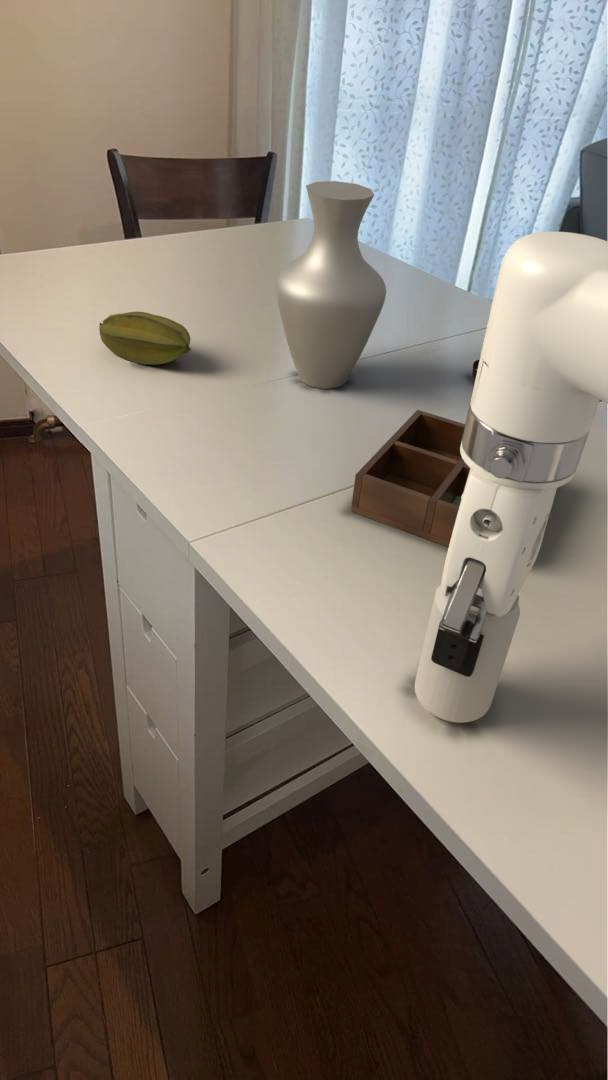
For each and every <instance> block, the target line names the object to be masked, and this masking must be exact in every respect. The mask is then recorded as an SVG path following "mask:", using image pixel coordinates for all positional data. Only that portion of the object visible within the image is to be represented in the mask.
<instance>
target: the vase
mask: <svg viewBox="0 0 608 1080" xmlns="http://www.w3.org/2000/svg"><path fill="white" fill-rule="evenodd" d="M305 188H306V192H307V196H308V200H309V204H310V208H311V209H310V210H311V213H312V214H311V215H312V219H313V235H312V238H311V241H310V243H309V244H308V246H307V248H306V250H305V252H303V253H302V254H301V255H300V256H298V257H296V258H295V259H294V260H291V261H290V262H288V264H286V265H285V266H284V267H283V268H282V269H280V271H279V272H278V273H277V276H276V279H275V290H274V291H275V296H276V297H275V298H276V303H277V307H278V311H279V316H280V319H281V324H282V327H283V331H284V336H285V339H286V344H287V346H288V349H289V352H290V356H291V359H292V361H293V364H294V367H295V370H296V373H297V376H298V377H299V381H300V382H301V383H303V384H305V385H307V386H308V387H311V388H316V389H322V390H328V389H336V388H337V389H338V388H340V387H342V385H344V384H345V383H347V381H348V379H349V376H350V375H351V374H352V371H353V369H354V368H355V367H356V364H357V363H358V362H359V359H360V357H361V355H362V353H363V351H364V350H365V348H366V345H367V344H368V341H369V339H370V337H371V335H372V332H373V330H374V328H375V326H376V324H377V321H378V320H379V317H380V315H381V313H382V309H383V307H384V304H385V301H386V297H387V296H386V295H387V286H386V283H385V281H384V279H383V277H382V276H381V275H380V273H379V272H378V271H377V270H376V269H375V268H374V267H372V266H371V265H370V264H369V263H368V261H366V260H365V258H364V257H363V254H362V251H361V249H360V245H359V238H358V237H359V230H360V227H361V223H362V221H363V219H364V216H365V214H366V211H367V209H368V207H369V206H370V204H371V202H372V201H373V199H374V197H375V193H374V192H373V190H372V188H369V187H366V186H364V185H360V184H359V183H352V182H345V181H339V180H338V181H337V180H329V181H328V180H327V181H315V182H312V183H309V184H306V185H305Z"/></svg>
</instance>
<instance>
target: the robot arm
mask: <svg viewBox="0 0 608 1080" xmlns="http://www.w3.org/2000/svg"><path fill="white" fill-rule="evenodd" d="M498 271H499V272H498V275H497V279H496V283H495V284H496V285H495V287H494V293H493V296H492V297H493V298H492V301H491V306H490V311H489V317H488V320H487V325H486V329H485V334H484V339H483V343H482V347H481V351H480V357H479V359H480V360H479V359H478V360H479V365H478V369H476V370H477V375H476V379H474V385H473V389H472V394H471V399H470V403H469V405H468V410H467V414H466V418H465V423H464V424H465V427H464V432H463V436H462V441H461V446H460V454H461V457H462V459H463V460H464V462H465V463H466V464H467V465H468V466H469V467H470V472H469V475H468V479H467V482H466V485H465V489H464V492H463V494H462V496H461V503H460V506H459V510H458V514H457V517H456V521H455V525H454V529H453V532H452V536H451V540H450V544H449V547H447V548H448V549H447V553H446V556H445V560H444V566H443V570H442V576H441V581H440V584H441V589H442V591H443V593H444V595H445V596H448V595H449V594H450V596H449V599H448V602H447V605H446V608H445V611H444V614H443V617H442V620H441V621H440V624H439V628H438V632H437V636H436V640H435V644H434V648H433V653H432V657H431V660H432V661H433V662H434V663H435V664H438V665H440V666H443V667H445V668H447V669H450V670H452V671H454V672H457V673H459V674H461V675H464V676H466V677H470V676H471V675H472V673H473V671H474V669H475V665H476V662H477V659H478V655H479V652H480V648H481V645H482V642H483V638H484V635H482V634H480V633H481V630H482V628H483V625H484V622H485V619H486V616H487V614H488V613H491V614H494V615H496V616H498V617H500V616H503V615H505V614H507V613H508V612H509V611H510V609H511V607H512V606H513V604H514V602H515V600H516V598H517V596H518V595H519V594H520V592H521V590H522V588H523V587H524V584H525V583H526V580H527V578H528V576H529V575H530V573H531V570H532V569H533V567H534V564H535V562H536V561H537V558H538V556H539V553H540V550H541V546H542V544H543V539H544V536H545V531H546V529H547V524H548V521H549V518H550V515H551V511H552V507H553V504H554V500H555V497H556V493H557V490H558V488H560V487H563V486H565V485H566V484H568V483H569V482H571V481H572V480H573V479H574V477H575V476H576V473H577V470H578V466H579V464H580V462H581V458H582V455H583V451H584V449H585V445H586V443H587V440H588V437H589V434H590V431H591V427H592V424H593V422H594V418H595V415H596V412H597V409H598V406H599V403H600V401H602V402H603V403H605V404H607V405H608V240H605V239H601V238H599V237H596V236H591V235H588V234H582V233H576V232H567V231H542V232H533V233H530V234H527V235H524V236H522V237H520V238H519V239H517V240H515V241H514V242H513V243H512V244H511V245H510V246H509V248H508V249H507V251H506V252H505V254H504V256H503V258H502V261H501V263H500V268H499V270H498ZM479 588H480V589H482V593H483V597H482V596H480V595H477V592H478V589H479ZM471 606H474V607H477V608H479V611H478V614H477V617H476V619H475V622H474V624H473V623H472V622H471V621H469V620H468V614H469V611H470V609H471Z"/></svg>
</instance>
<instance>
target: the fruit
mask: <svg viewBox="0 0 608 1080" xmlns="http://www.w3.org/2000/svg"><path fill="white" fill-rule="evenodd" d="M98 330H99V336H100V340H101V342H102V343H103V344H104V346H105V347H106V348H107V349H108V350H109V351H110V352H111V353H113V354H114V355H116V356H118V357H120V358H121V359H124V360H126V361H128V362H132V363H136V364H139V365H148V366H149V365H151V366H155V365H163V364H168V363H171V362H174V361H175V360H176V359H178V358H180V357H181V356H183V355H186V354H188V353H189V352H191V350H192V349H191V347H190V345H191V339H192V338H191V336H190V332H189V331H188V330H187V328H186V327H185V326H184V325H183V324H181V323H179V322H176V321H174V320H173V319H170V318H168V317H165V316H161V315H157V314H153V313H149V312H145V311H130V312H129V311H128V312H122V313H115V314H110V315H109V316H107V317H106V318H104V319H103V320H102V322H99V327H98Z"/></svg>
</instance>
